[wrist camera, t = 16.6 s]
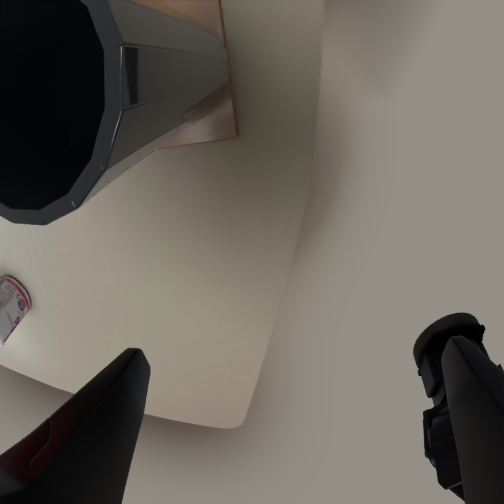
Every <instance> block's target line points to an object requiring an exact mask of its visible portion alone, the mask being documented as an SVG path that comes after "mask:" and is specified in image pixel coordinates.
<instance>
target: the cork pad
mask: <svg viewBox="0 0 504 504" xmlns="http://www.w3.org/2000/svg"><path fill="white" fill-rule="evenodd" d="M158 1H160V2H162V3H164V4H166V5H168V6H170V7H172V8H174V9H176V10H178V11H180V12H182V13H184V14H186V15H188V16H190V17H192V18H194V19H196V20H198V21H199V22H201V23H203V24H204V25H205V26H206V27H208V28H209V29H210V30H212V31H213V32H214V33H215V34H216V35H217V36H218V37H219V39H220V40H221V42H222V43H223V45H224V47H225V49H226V52H227V47H226V39H225V32H224V25H223V17H222V10H221V2H220V0H158ZM227 55H228V54H227ZM229 71H230V69H229ZM237 138H238V129H237V121H236V114H235V106H234V99H233V91H232V84H231V77H230V72H229V80H228V84H227V87H226V90H225V92H224V95H223V96H222V98H221V100H220V101H219V103H218V104H217V105H216V107H215V108H214V109H213V110H212V111H211V112H210V113H209V114H207V115H206V116H205V117H204V118H202V119H201V120H200V121H199V122H197V123H196V124H194V125H193V126H191V127H190V128H188V129H186V130H185V131H183V132H182V133H180V134H179V135H177V136H176V137H174V138H173V139H171V140H169V141H168V142H167V143H165V144H164V145H162V146H161V147H159V148H158V149H164V148H170V147H176V146H183V145H190V144H197V143H204V142H212V141H220V140H229V139H237ZM158 149H156V150H158Z"/></svg>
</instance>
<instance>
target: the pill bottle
mask: <svg viewBox="0 0 504 504" xmlns="http://www.w3.org/2000/svg"><path fill="white" fill-rule="evenodd" d="M30 305H31V303H30V298H29V296H28V294H27V292H26V290H25V289H24V288H23V287H22V286H21V284H19V283H18V282H17V281H16V280H15V279H13V278H11V277H8V276H5V277H2V278H1V279H0V347H2V345H3V344H4V343H5V341H6V340H7V339H8V337H9V336H10V335H11V333H12V332H13V330H14V329H15V328H16V326H17V325H18V324H19V322H20V321H21V320H22V318H23V317H24V316H25V315H26V313H27V312H28V311H29V309H30Z"/></svg>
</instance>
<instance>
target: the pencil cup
mask: <svg viewBox="0 0 504 504" xmlns="http://www.w3.org/2000/svg"><path fill="white" fill-rule="evenodd" d="M229 72H230V71H229V59H228V55H227V52H226V49H225V47H224V45H223V43H222V42H221V40H220V39H219V37H218V36H217V35H216V34H215V33H214V32H213V31H212V30H210V29H209V28H208V27H206V26H205V25H204V24H203V23H201V22H199V21H198V20H196V19H194V18H192V17H190V16H188V15H186V14H184V13H182V12H180V11H178V10H176V9H174V8H172V7H170V6H168V5H166V4H164V3H162V2H160V1H158V0H0V216H1V217H3V218H5V219H6V220H8V221H10V222H13V223H17V224H31V225H48V224H50V223H51V222H53V221H55V220H57V219H59V218H61V217H63V216H65V215H67V214H69V213H71V212H73V211H75V210H77V209H78V208H80V207H81V206H82V205H83V204H84V203H86V202H87V201H88V200H89V199H91V198H92V197H93V196H94V195H96V194H97V193H98V192H99V191H101V190H102V189H103V188H104V187H106V186H107V185H108V184H110V183H111V182H112V181H113V180H115V179H116V178H117V177H119V176H120V175H121V174H123V173H124V172H125V171H127V170H128V169H129V168H131V167H132V166H134V165H135V164H136V163H138V162H139V161H140V160H142V159H143V158H145V157H146V156H148V155H149V154H150V153H152V152H153V151H155V150H156V149H158V148H159V147H161V146H162V145H164V144H165V143H167V142H168V141H169V140H171V139H173V138H174V137H176V136H177V135H179V134H180V133H182V132H183V131H185V130H186V129H188V128H190V127H191V126H193V125H194V124H196V123H197V122H199V121H200V120H201V119H202V118H204V117H205V116H206V115H207V114H209V113H210V112H211V111H212V110H213V109H214V108H215V107H216V105H217V104H218V103H219V101H220V100H221V98H222V96H223V95H224V92H225V90H226V87H227V84H228V80H229Z"/></svg>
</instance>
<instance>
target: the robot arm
mask: <svg viewBox="0 0 504 504" xmlns="http://www.w3.org/2000/svg"><path fill="white" fill-rule="evenodd" d="M484 332H485V326H484V325H476V326H470V327H464V328H457V329H451V330H444V331H436V332H434V333H432V334H431V336H430V339H429V342H428V345H427V348H426V350H425V352H424V354H423V357H422V359H421V362H420V364H419V369H418V375H419V376H421V377H422V380H423V384H424V387H425V391H426V394H427V397H428V398H432V400H433V403H434V407H433V408H431V409H427V410H425V411H424V412H423V418H424V419H423V429H424V448H425V457H426V458H428V459H429V460H430V462H431V464H432V465H433V467H435V468H436V471H437V478H438V483H439V484H440V485H441V486H442V487H443V488H444V489H445V490H447V489H450V490H451V491H452V492H453V493H455V494H456V495H457V496H458V497H460V498H461V499H462V500H463V501H464V502H465V504H504V370H503V368H502V366H501V364H499V365H498V366H497V365H495V364H494V363H493V362H492V361H491V360H490V358H489V356H488V354H487V351H486V349H485V347H484V345H483V343H482V341H481V338H482V336H483V334H484ZM149 378H150V365H149V363H148V361H147V359H146V357H145V355H144V353H143V351H142V350H141V349H139V348H127V349H126V350H125V351H124V352H122V353H121V354H120V355H119V356H118V357H117V358H116V359H114V360H113V361H112V362H111V363H110V364H109V365H108V366H106V367H105V368H104V369H103V370H102V371H101V372H100V373H98V374H97V375H96V376H95V377H94V378H93V379H92V380H90V381H89V382H88V383H87V384H86V385H85V386H84V387H82V388H81V389H80V390H79V391H78V392H77V393H76V394H75V395H73V396H72V397H71V398H70V399H69V400H68V401H67V402H65V403H64V404H63V405H62V406H61V407H60V408H59V409H58V410H57V411H55V412H54V413H53V414H52V415H51V416H50V417H49V418H47V419H46V420H45V421H44V422H43V423H42V424H41V425H39V426H38V427H37V428H36V429H35V430H34V431H32V432H31V433H30V434H28V435H27V436H26V437H25V438H23V439H22V440H21V441H19V442H18V443H17V444H15V445H14V446H12V447H11V448H10V449H8V450H7V451H5V452H4V453H3V454H1V455H0V504H122V499H123V495H124V490H125V486H126V482H127V478H128V473H129V469H130V465H131V461H132V457H133V453H134V449H135V446H136V442H137V438H138V433H139V430H140V426H141V423H142V419H143V415H144V409H145V403H146V396H147V390H148V384H149Z"/></svg>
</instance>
